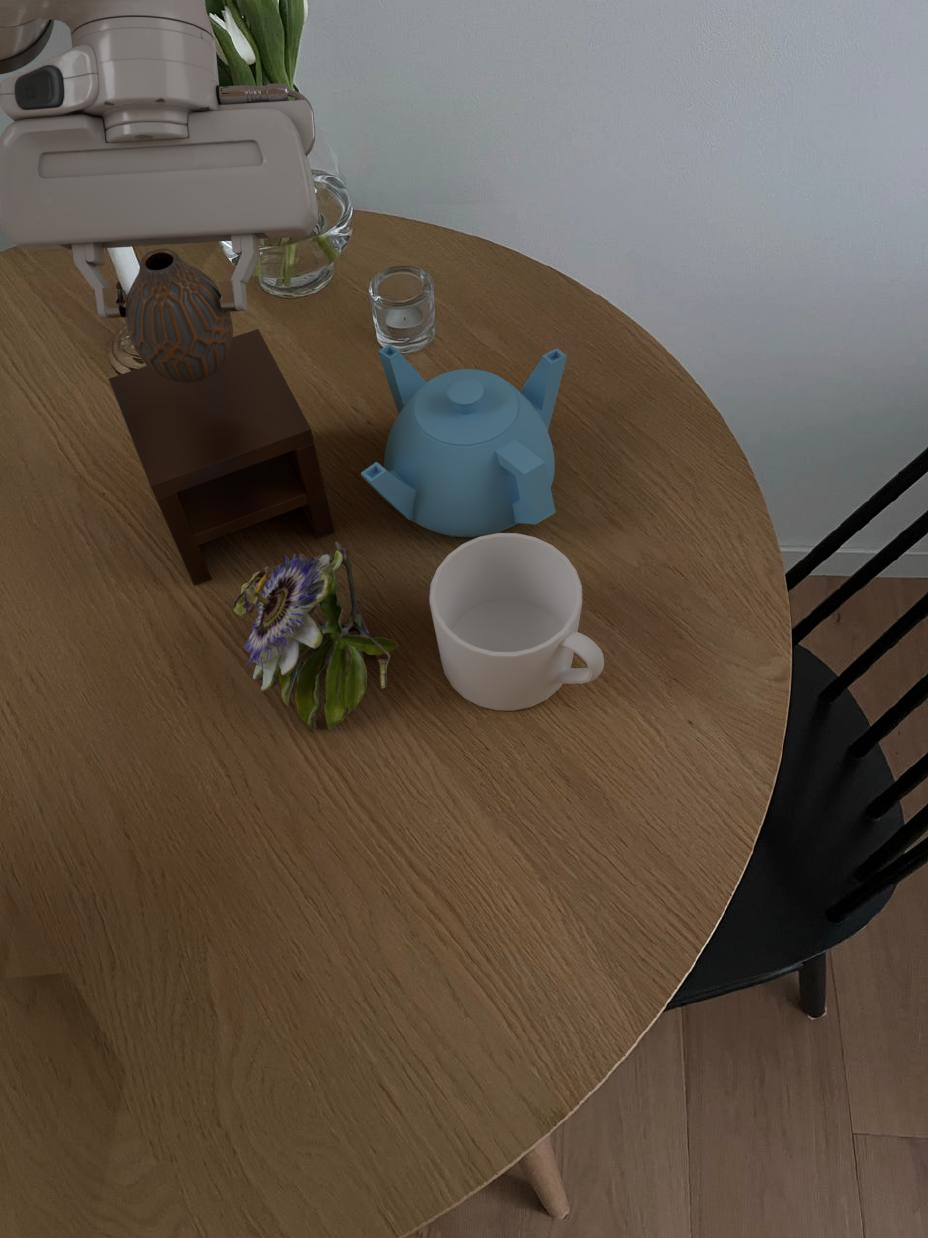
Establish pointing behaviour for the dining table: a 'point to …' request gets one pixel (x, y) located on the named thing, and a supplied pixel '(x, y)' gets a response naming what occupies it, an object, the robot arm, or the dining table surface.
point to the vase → (177, 319)
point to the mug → (510, 621)
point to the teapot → (469, 447)
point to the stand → (223, 448)
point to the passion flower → (310, 636)
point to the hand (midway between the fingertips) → (173, 314)
